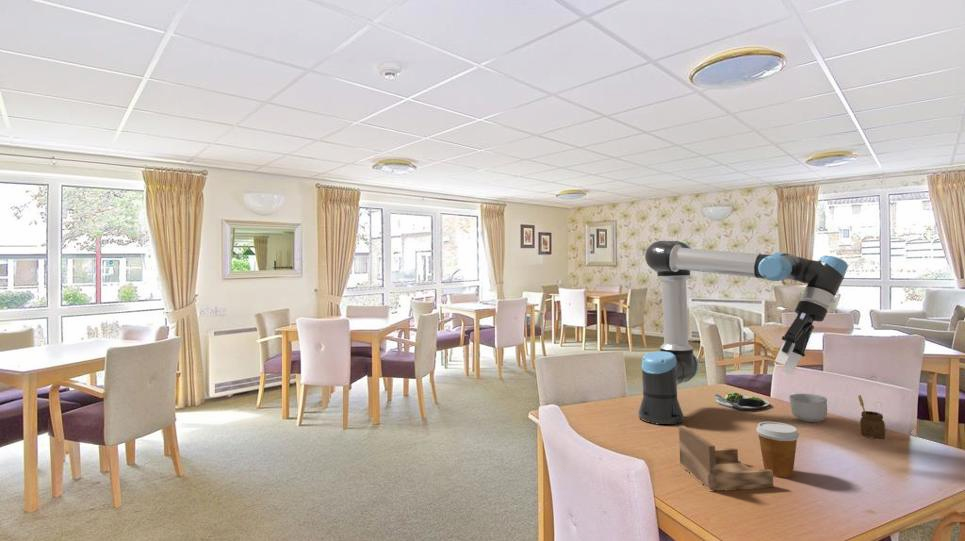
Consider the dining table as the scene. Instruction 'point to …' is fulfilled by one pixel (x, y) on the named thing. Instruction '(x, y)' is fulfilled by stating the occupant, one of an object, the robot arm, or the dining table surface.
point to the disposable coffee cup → (778, 447)
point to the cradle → (718, 465)
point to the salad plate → (742, 402)
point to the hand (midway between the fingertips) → (783, 368)
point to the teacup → (808, 407)
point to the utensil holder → (871, 422)
